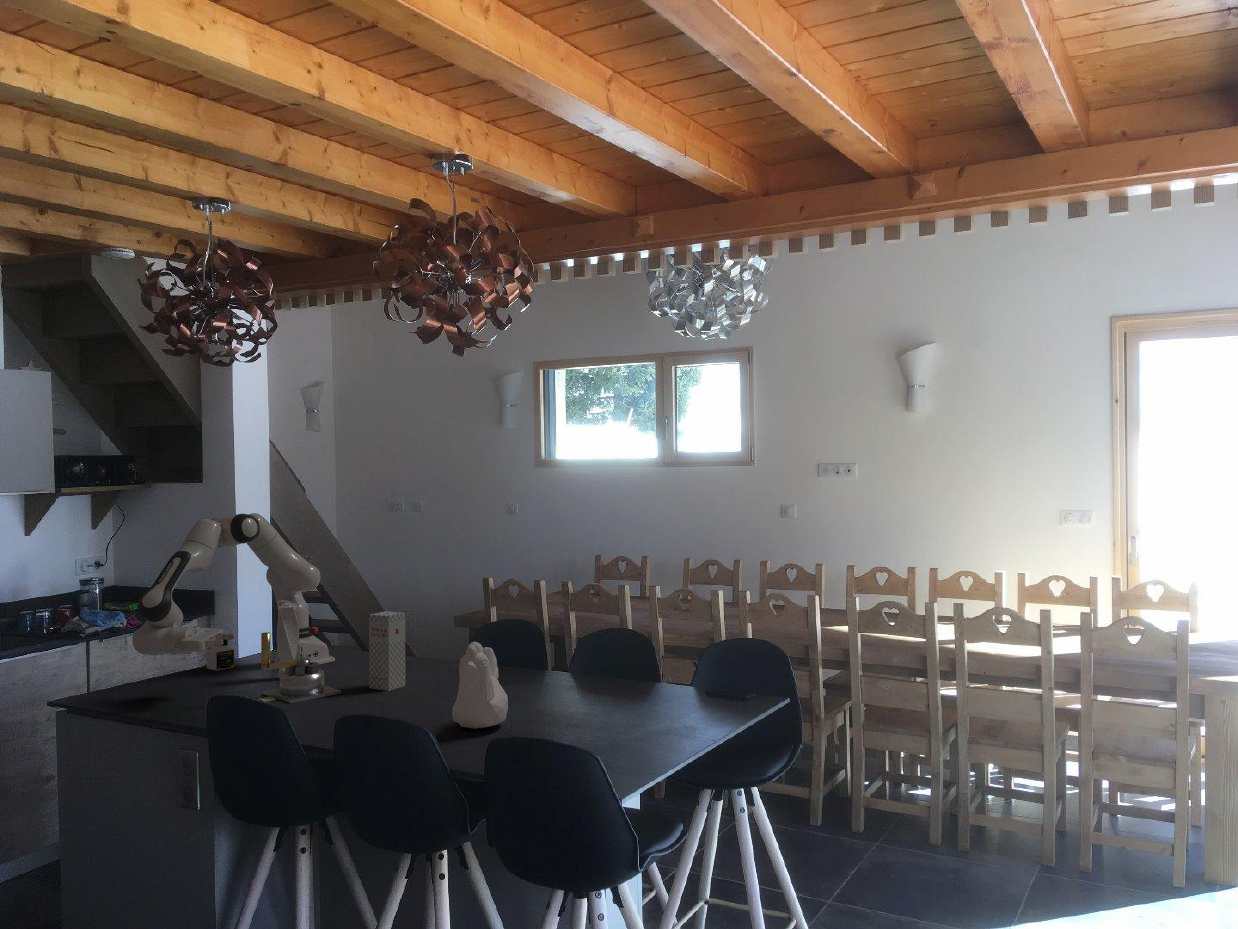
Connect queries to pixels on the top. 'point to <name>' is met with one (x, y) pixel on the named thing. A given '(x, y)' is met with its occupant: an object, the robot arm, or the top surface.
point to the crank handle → (290, 667)
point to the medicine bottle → (220, 657)
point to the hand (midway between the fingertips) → (228, 639)
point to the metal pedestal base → (301, 687)
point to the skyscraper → (287, 633)
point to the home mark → (267, 699)
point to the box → (386, 650)
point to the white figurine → (479, 690)
